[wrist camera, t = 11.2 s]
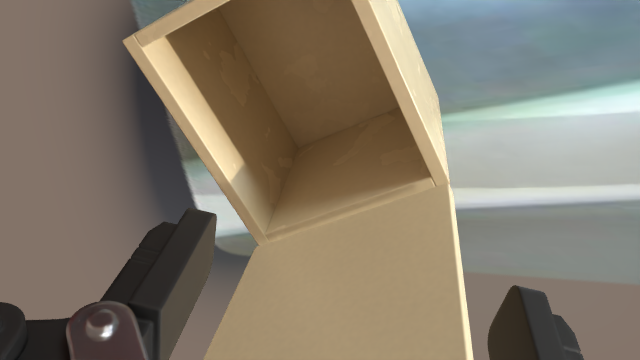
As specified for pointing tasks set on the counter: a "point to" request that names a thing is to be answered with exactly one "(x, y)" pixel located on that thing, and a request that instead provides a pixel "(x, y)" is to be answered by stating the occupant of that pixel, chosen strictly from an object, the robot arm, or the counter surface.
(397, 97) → the wooden keepsake chest
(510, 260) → the counter surface
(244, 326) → the chest lid
